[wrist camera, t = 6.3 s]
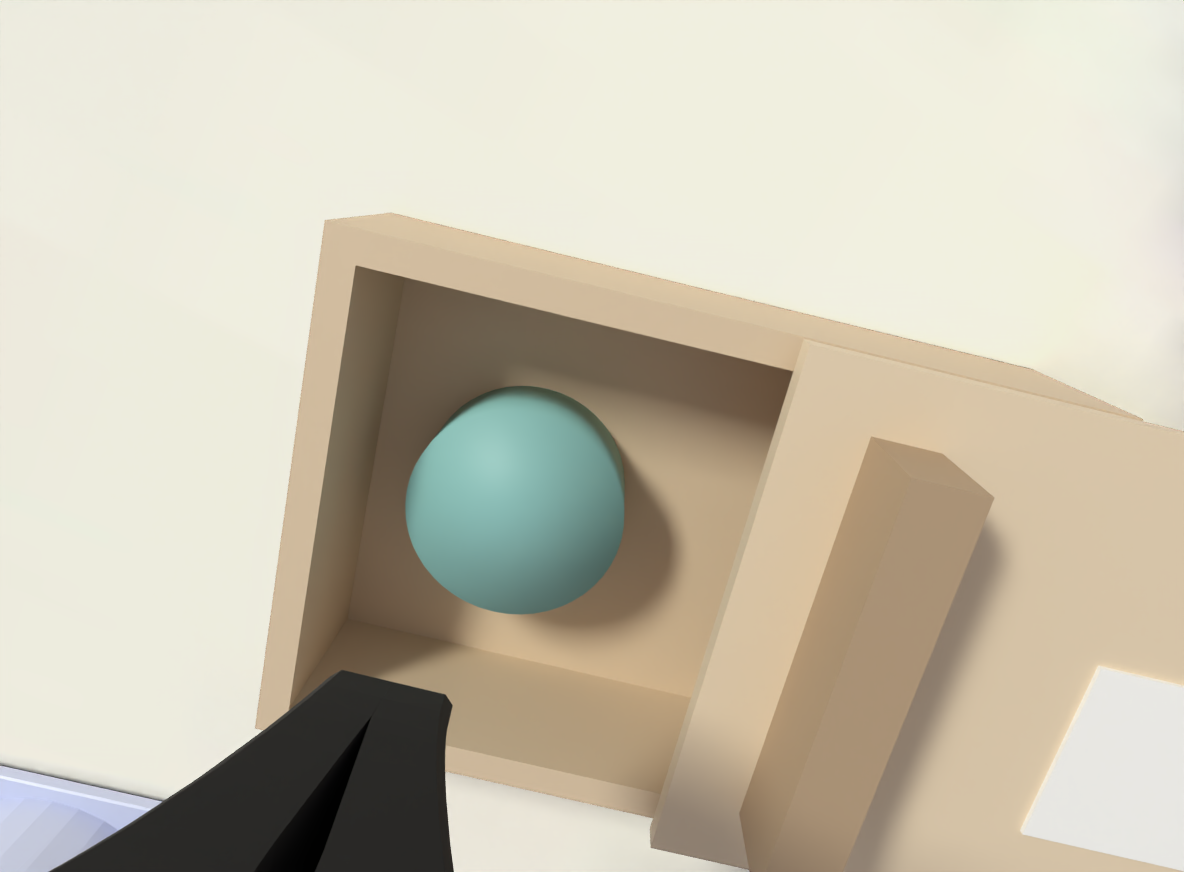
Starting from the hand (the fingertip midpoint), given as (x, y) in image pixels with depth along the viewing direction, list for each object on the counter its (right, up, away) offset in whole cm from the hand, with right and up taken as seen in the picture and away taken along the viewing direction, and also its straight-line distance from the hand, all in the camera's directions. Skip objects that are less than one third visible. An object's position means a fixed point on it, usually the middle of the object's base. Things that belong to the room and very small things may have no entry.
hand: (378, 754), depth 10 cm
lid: (+12, -1, +6) cm, 13 cm away
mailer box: (+4, +2, +9) cm, 10 cm away
